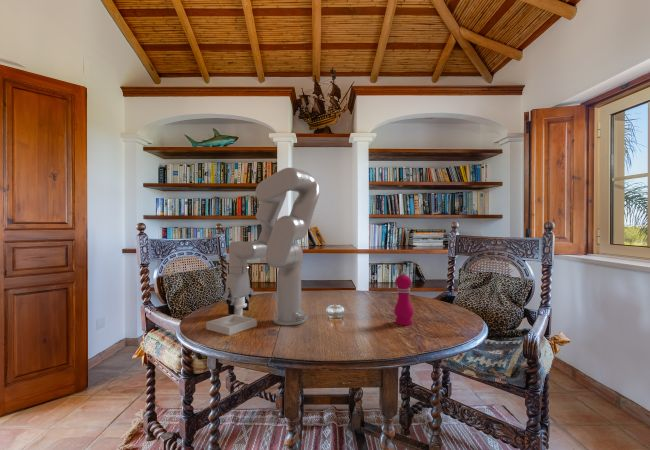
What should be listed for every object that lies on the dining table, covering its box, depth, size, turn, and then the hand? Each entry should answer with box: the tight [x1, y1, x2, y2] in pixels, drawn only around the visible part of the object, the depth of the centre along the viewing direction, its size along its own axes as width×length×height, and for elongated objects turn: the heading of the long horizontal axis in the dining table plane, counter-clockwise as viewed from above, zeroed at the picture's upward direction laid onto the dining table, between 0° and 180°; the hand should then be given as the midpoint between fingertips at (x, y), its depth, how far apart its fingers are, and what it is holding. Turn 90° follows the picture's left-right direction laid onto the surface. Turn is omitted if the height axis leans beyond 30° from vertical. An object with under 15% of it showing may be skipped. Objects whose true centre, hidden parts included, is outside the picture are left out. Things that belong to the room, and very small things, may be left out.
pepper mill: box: [393, 270, 414, 326], centre depth 131 cm, size 7×7×20 cm
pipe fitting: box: [233, 296, 247, 316], centre depth 144 cm, size 6×7×8 cm
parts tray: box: [205, 314, 258, 336], centre depth 128 cm, size 13×13×3 cm
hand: (238, 311), depth 144 cm, fingers open, 7 cm apart
